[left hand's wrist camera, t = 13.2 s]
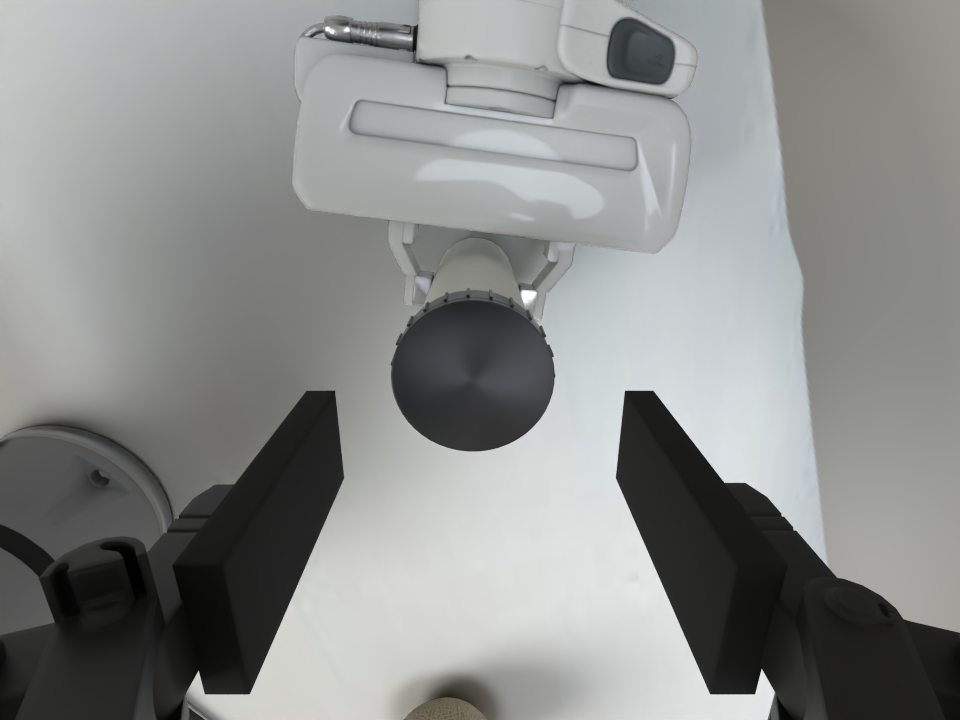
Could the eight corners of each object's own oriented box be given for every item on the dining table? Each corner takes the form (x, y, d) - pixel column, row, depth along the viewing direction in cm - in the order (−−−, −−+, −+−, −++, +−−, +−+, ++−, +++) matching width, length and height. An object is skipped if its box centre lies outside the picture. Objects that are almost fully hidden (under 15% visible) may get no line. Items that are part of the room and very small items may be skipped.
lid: (363, 345, 19) (354, 360, 18) (494, 255, 18) (495, 262, 17) (454, 457, 21) (452, 480, 20) (579, 381, 20) (587, 399, 19)
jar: (423, 265, 36) (372, 358, 18) (484, 222, 35) (491, 277, 17) (465, 323, 37) (456, 461, 20) (525, 284, 36) (570, 392, 19)
